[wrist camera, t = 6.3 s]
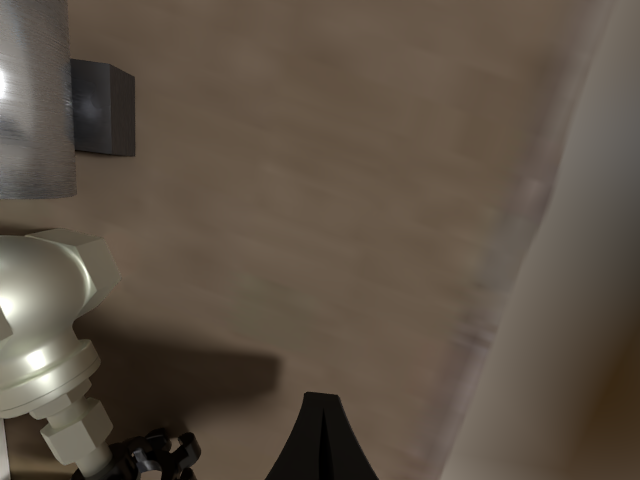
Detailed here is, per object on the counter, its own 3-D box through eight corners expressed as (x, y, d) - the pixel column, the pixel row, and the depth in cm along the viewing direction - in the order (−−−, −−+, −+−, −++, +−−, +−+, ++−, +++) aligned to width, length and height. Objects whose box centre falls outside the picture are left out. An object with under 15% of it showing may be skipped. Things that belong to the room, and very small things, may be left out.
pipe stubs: (138, 560, 17) (64, 716, 12) (60, 553, 17) (-46, 707, 12) (134, 33, 11) (-9, -74, 6) (15, 17, 11) (-222, -105, 6)
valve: (-8, 243, 13) (108, 457, 16) (-321, 310, 7) (-42, 655, 9) (129, 202, 13) (226, 428, 15) (-66, 230, 6) (155, 614, 9)
